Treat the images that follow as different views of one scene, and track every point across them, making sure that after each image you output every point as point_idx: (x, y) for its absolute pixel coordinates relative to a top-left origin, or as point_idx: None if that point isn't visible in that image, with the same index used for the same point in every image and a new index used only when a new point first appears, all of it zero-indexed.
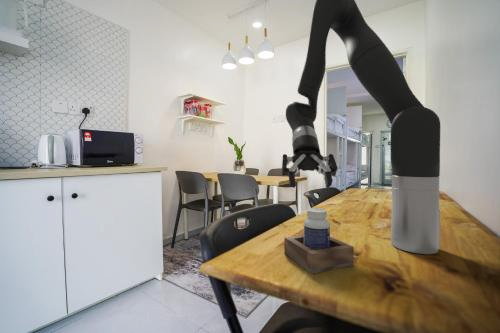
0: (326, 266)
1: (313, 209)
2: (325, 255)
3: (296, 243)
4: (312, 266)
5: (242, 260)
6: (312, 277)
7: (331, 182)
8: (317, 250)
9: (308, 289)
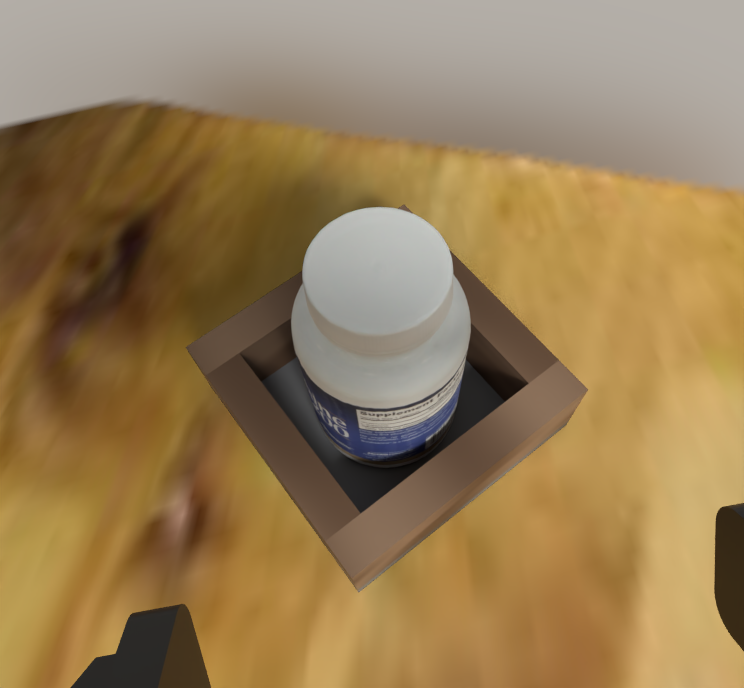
0: None
1: (402, 277)
2: None
3: (494, 308)
4: None
5: (737, 283)
6: None
7: (106, 660)
8: None
9: (410, 158)
